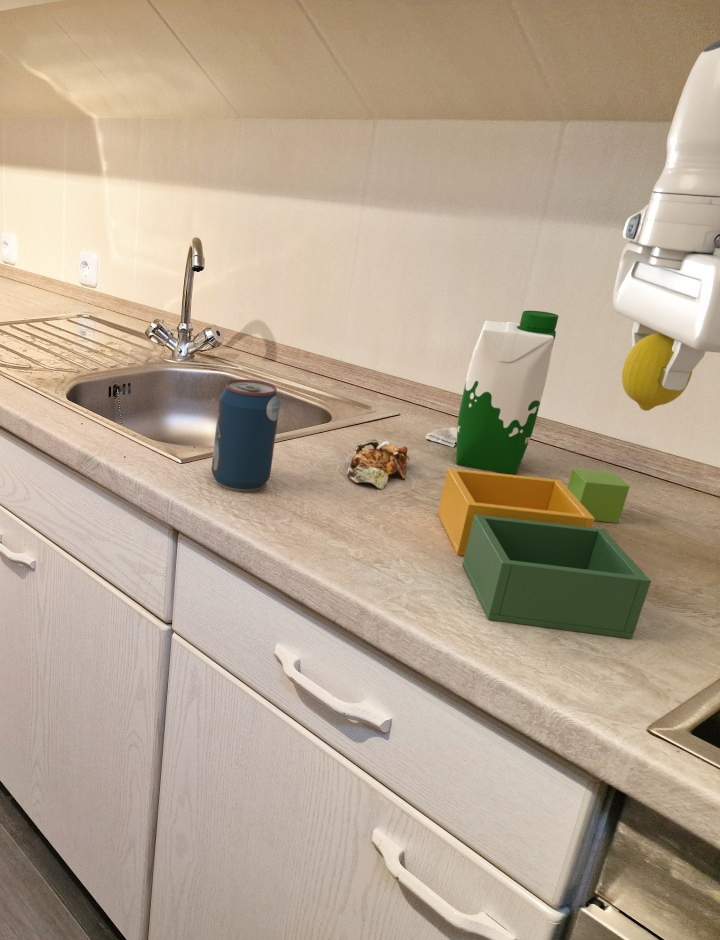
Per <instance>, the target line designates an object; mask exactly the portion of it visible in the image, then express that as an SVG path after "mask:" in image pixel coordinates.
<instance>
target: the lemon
mask: <svg viewBox="0 0 720 940" xmlns="http://www.w3.org/2000/svg"><path fill="white" fill-rule="evenodd" d="M674 341H675V340H674V339H672V338H670V337H668V336H665V335H663V334H661V333H654V334H651V335H648V336H646V337H645V338H643V339H641V340H640V341H638V342H637V343H636V344H635V345H634V347H633V348H632V347H631V349H630V351H629V352H628V354H627V356H626V358H625V361H624V362H623V367H622V372H621V383H622V387H623V388H622V389H623V390H624V392H625V394H626V395H627V396H628V397H629V399H631V400H633V401H634V402H636V404H637V406H638V407H639V408H640V409H641V410H642V411H651V410H652V409H654V408H655V407H658V406H663V405H666V404H669V403H671V402H673V401H675V400H676V399H677V398H679V397H680V396H681V395H682V394H683V393H684V391H685V390H686V389H687V386H688V385H689V383H690V381H691V378H692V375H693V371H694V369H693V370H692V372H690V375H689V378H688V381H687V384H686V387H685V388H684V389H683V390H680V391H678V390H667V389H665V388H664V387H662V386H661V385H659V384H658V379H659V377H660V372H661V369H662V367H667V365H668V363H669V361H670V360H671V358H672V356H673V354H674V352H673V351H672V347H673V344H674Z"/></svg>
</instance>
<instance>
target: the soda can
mask: <svg viewBox="0 0 720 940" xmlns="http://www.w3.org/2000/svg"><path fill="white" fill-rule="evenodd" d="M277 390H278V389H277V386H276V385H274V384H272V383H269V382H265V381H262V380H256V379H233V380H229V381H228V382H226V384H225V388H224V390H223V391H222V393H221V394H220V396H219V397H218V408H217V416H216V424H215V432H214V433H215V434H214V443H213V451H212V459H211V469H210V471H211V474H212V476H213V478H214V480H215V482H216V484H217V485H219V487H222V488H224V489H226V490H231V491H235V492H246V493H247V492H256V491H259V490H261V489H262V488H263V487H264V485H266V483H267V482H268V481H269V479H270V477H271V471H272V465H273V457H274V450H275V442H276V437H277V436H276V435H277V428H278V421H279V414H280V407H281V403H280V400H279V396H278V394H277Z"/></svg>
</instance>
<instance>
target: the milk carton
mask: <svg viewBox="0 0 720 940" xmlns="http://www.w3.org/2000/svg"><path fill="white" fill-rule="evenodd" d="M558 320H559V315H558V314H556V313H553V312H548V311H541V310H523V311H522V313H521V318H520V321H519V323H518V322H515V321H506V322H505V321H504V322H503V321H497V320H495V321H494V320H485V321H484V324H483V326H482V329H481V331H480V334H479V337H478V339H477V341H476V344H475V346H474V348H473V352H472V355H471V358H470V362H469V365H468V369H467V374H466V379H465V384H464V387H463V392H462V397H461V401H460V405H459V411H458V418H457V424H456V425H457V426H456V427H457V428H456V465H458V466H463V467H469V468H474V469H480V470H484V471H489V472H490V471H491V472H495V473H501V474H509V475H517V472H518V470H519V468H520V465H521V463H522V460H523V458H524V455H525V453H526V451H527V448H528V445H529V443H530V441H531V439H532V435H533V433H534V432H533V431H534V428H535V426H536V421H537V418H538V413H539V410H540V406H541V402H542V399H543V393H544V390H545V386H546V382H547V378H548V374H549V373H548V372H549V370H550V369H549V368H550V363H551V358H552V357H551V356H552V351H553V348H554V342H555V339H556V337H557V331H556V328H557V324H558Z"/></svg>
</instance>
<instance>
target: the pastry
mask: <svg viewBox="0 0 720 940" xmlns="http://www.w3.org/2000/svg"><path fill="white" fill-rule="evenodd" d="M367 446H371V447H373V448H366V449H364V448H365V447H367ZM408 450H409V449H408V447H406V446H398V447H397V446H395V445H393V444H392V443H391V441H389V440H386V441H383V442H380V443H379V440H377V439H376V438H375V437H373V438H372V437H371V438H369V439H368V440H365V441H363V443H361V442H360V443H359V442H358V443H357V445H356V446H355V448H354V451H353V455H352V456H351V457H350V461H349V464H348V467H347V473H346V475H347V477H348V479H349V480H352V482H355V483H370V484H372V485H374V486H375V487H376V488H378V489H380V490H384V488H385V486H386V485H387V484H388V479H389V475H393V474H395V473H396V472H397V471H398V472H399V474H400V476H401V478H402V480H406V474H407V472H408V471H407V466H406V465H407V461H410V458H409V456H408Z"/></svg>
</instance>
